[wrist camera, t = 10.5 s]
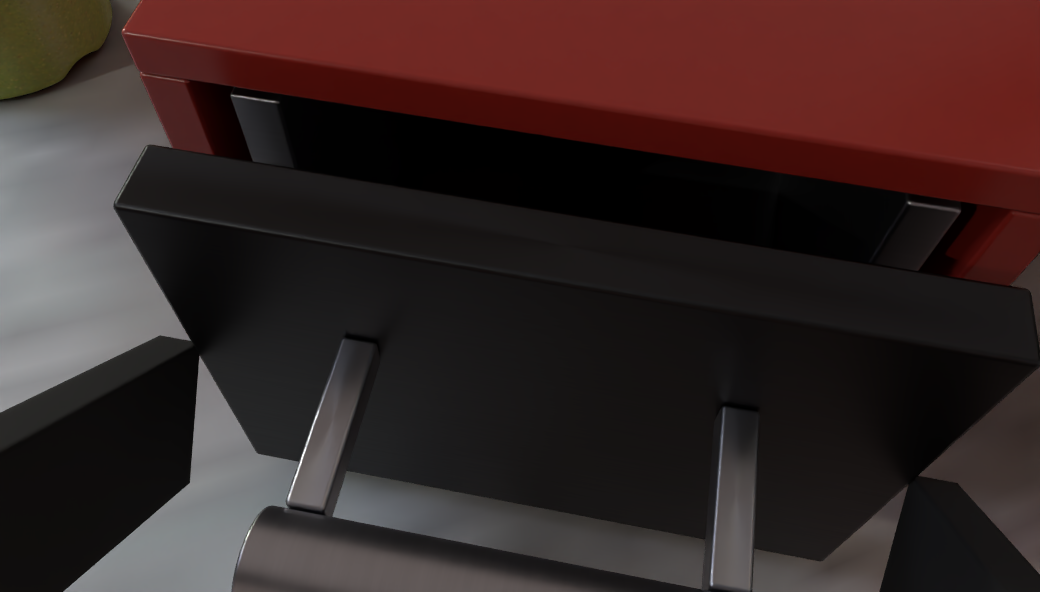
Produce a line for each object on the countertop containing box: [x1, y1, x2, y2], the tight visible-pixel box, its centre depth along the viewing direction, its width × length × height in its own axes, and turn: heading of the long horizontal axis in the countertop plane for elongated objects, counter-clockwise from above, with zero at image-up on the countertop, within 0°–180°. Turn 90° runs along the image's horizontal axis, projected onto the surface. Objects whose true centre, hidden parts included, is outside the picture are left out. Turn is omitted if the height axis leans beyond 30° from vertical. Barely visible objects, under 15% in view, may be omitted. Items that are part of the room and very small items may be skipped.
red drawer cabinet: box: [122, 0, 1040, 286], centre depth 21 cm, size 16×14×11 cm
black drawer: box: [114, 87, 1040, 592], centre depth 18 cm, size 19×12×9 cm, turn 169°
